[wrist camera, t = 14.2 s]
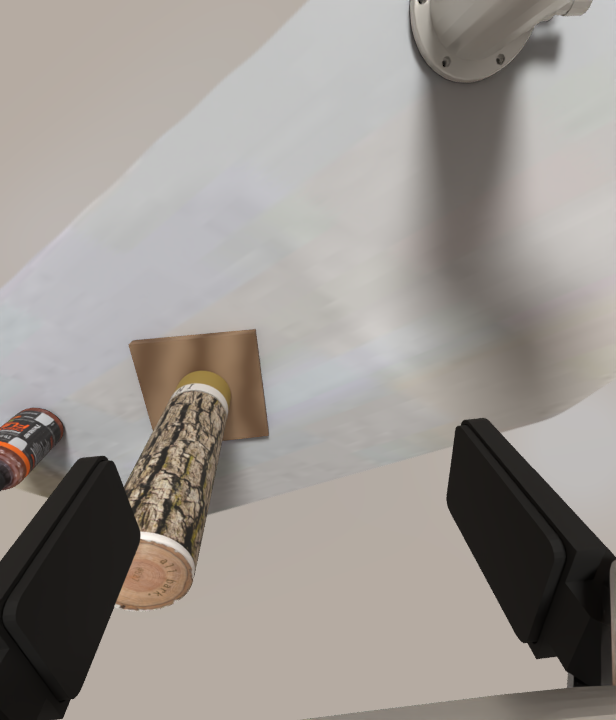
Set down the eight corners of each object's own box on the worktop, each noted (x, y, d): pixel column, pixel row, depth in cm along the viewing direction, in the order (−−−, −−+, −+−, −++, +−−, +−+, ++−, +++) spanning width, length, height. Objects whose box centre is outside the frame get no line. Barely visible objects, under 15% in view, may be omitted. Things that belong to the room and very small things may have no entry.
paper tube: (240, 380, 46) (209, 555, 23) (219, 422, 48) (172, 620, 25) (188, 359, 44) (98, 526, 21) (169, 403, 46) (69, 598, 23)
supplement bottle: (47, 399, 46) (-18, 455, 35) (75, 435, 48) (21, 497, 38) (5, 414, 46) (-72, 475, 36) (34, 449, 48) (-30, 515, 38)
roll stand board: (255, 329, 45) (255, 333, 43) (268, 429, 51) (268, 435, 49) (133, 340, 44) (128, 344, 42) (160, 441, 50) (157, 447, 48)
